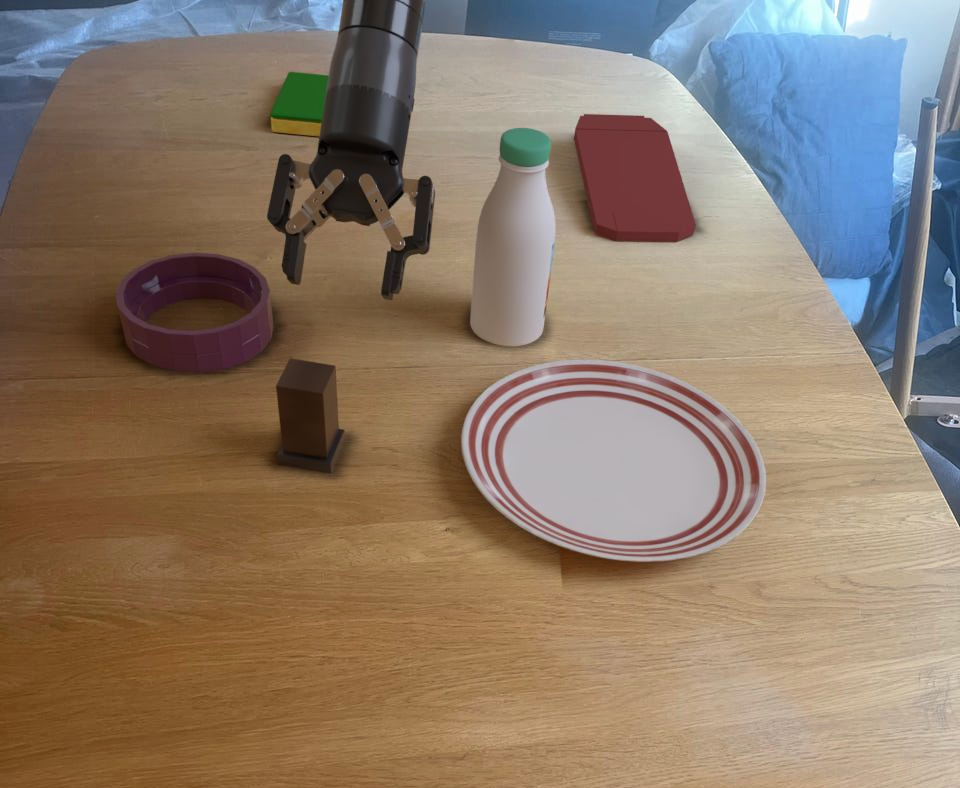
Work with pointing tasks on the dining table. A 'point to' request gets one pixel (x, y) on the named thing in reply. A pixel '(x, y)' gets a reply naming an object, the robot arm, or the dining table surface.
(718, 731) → the dining table surface
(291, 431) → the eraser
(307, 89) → the dish sponge
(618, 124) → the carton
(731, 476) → the dinner plate
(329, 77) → the robot arm
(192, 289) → the ring
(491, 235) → the milk bottle
